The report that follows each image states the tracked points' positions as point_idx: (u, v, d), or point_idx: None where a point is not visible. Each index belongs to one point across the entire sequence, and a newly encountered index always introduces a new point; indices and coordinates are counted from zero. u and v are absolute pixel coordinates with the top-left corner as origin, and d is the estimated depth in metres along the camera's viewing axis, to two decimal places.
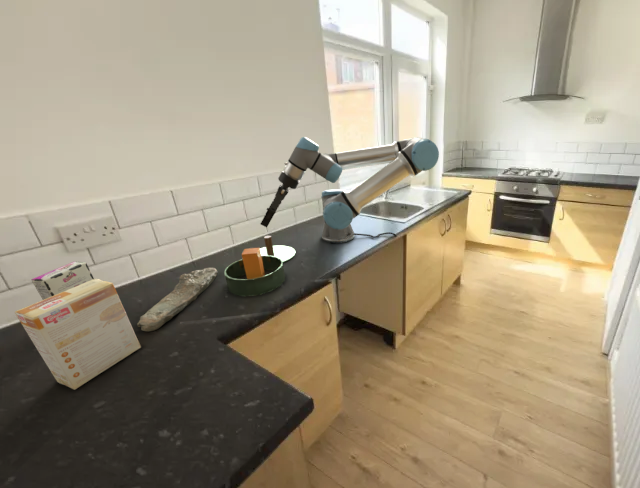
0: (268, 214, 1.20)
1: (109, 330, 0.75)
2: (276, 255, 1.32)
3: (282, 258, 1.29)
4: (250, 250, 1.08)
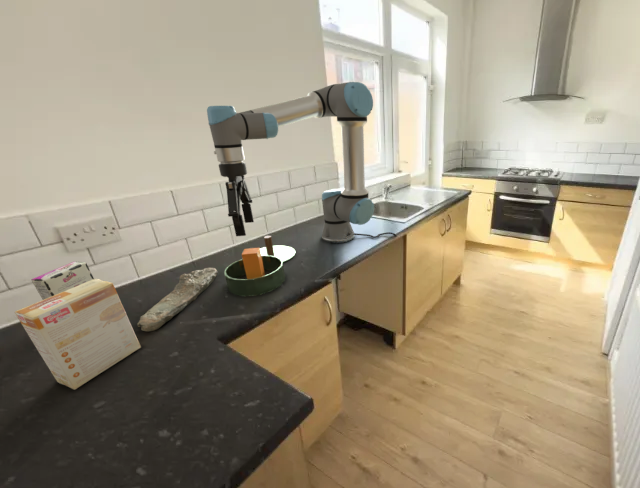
0: (234, 220, 0.95)
1: (109, 330, 0.75)
2: (276, 255, 1.32)
3: (282, 258, 1.29)
4: (250, 250, 1.08)
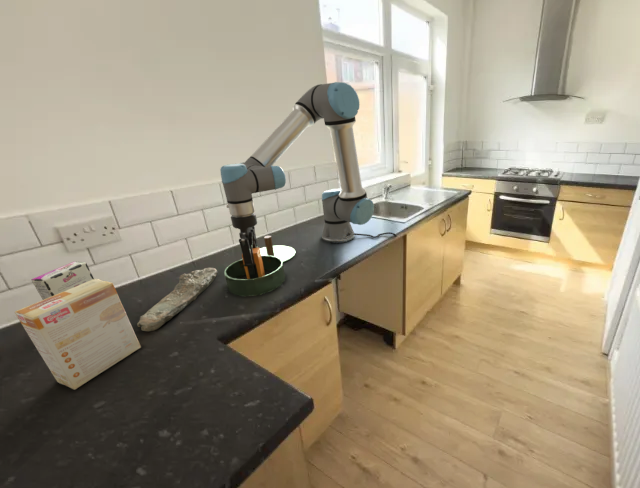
0: (249, 269, 1.06)
1: (109, 330, 0.75)
2: (276, 255, 1.32)
3: (282, 258, 1.29)
4: None
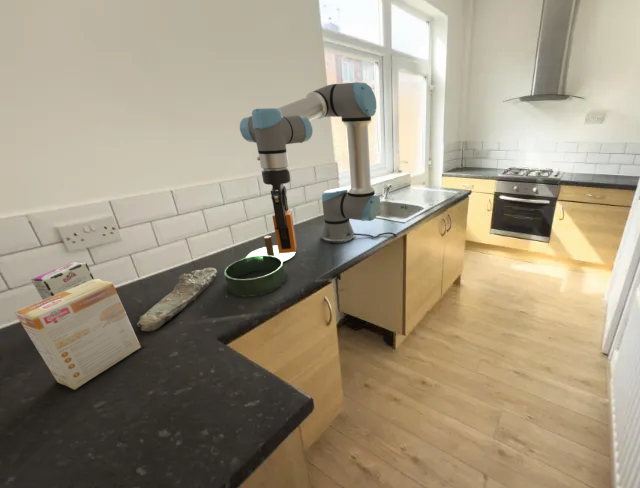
0: (281, 233, 0.93)
1: (109, 330, 0.75)
2: (276, 255, 1.32)
3: (282, 258, 1.29)
4: None
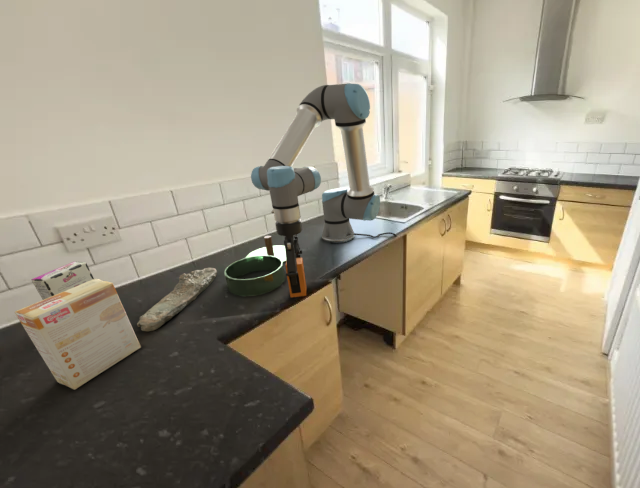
0: (292, 279, 0.94)
1: (109, 330, 0.75)
2: (276, 255, 1.32)
3: (282, 258, 1.29)
4: None
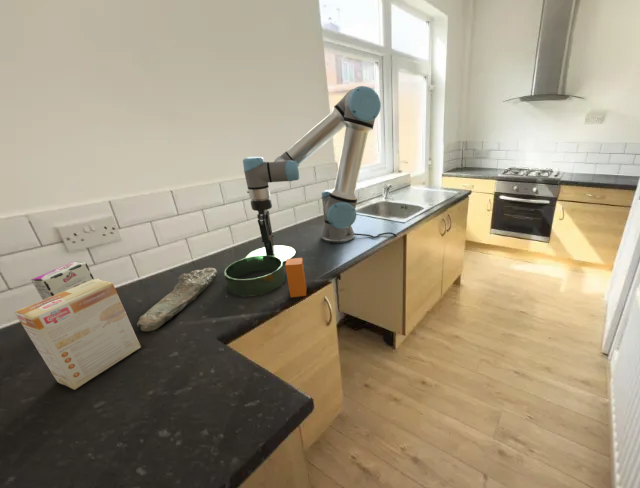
0: (266, 245, 1.27)
1: (109, 330, 0.75)
2: (276, 255, 1.32)
3: (282, 258, 1.29)
4: (293, 260, 1.01)
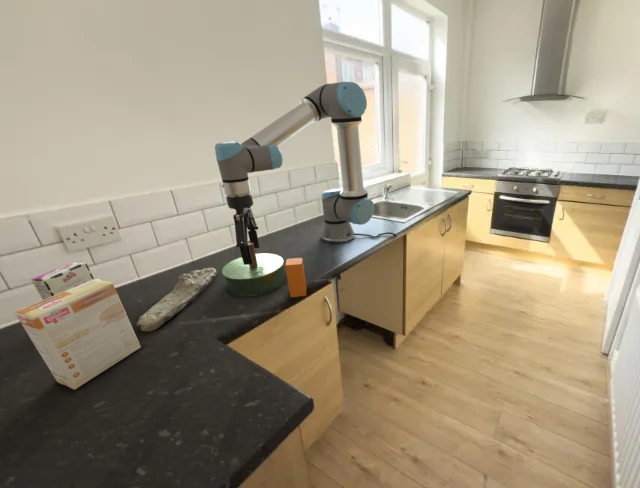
0: (242, 250, 0.99)
1: (109, 330, 0.75)
2: (260, 266, 1.09)
3: (266, 270, 1.06)
4: (293, 260, 1.01)
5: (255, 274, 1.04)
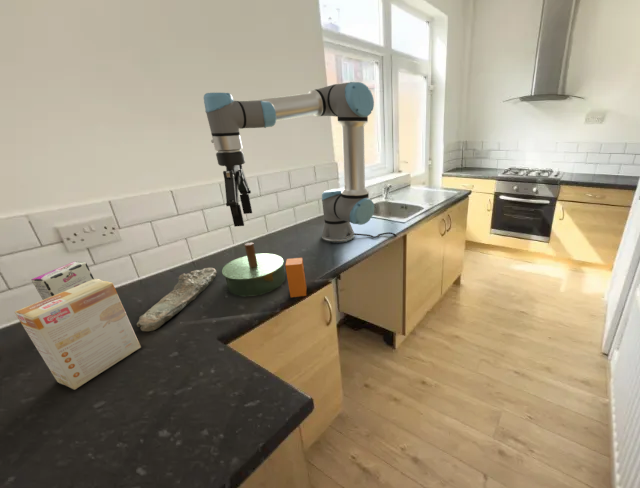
0: (232, 210, 0.93)
1: (109, 330, 0.75)
2: (260, 266, 1.09)
3: (266, 270, 1.06)
4: (293, 260, 1.01)
5: (255, 274, 1.04)
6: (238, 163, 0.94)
